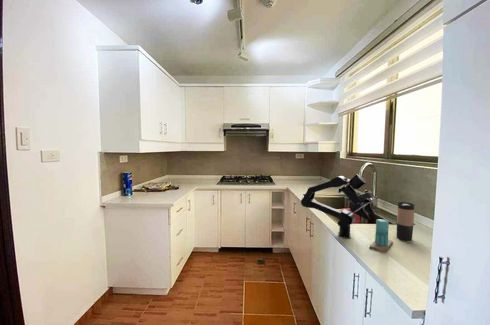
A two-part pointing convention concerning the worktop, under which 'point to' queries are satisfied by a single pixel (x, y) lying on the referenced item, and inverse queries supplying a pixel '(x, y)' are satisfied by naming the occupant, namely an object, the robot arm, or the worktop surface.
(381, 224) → the teal cap
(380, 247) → the brown block with knob
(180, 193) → the worktop surface
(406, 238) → the travel mug
